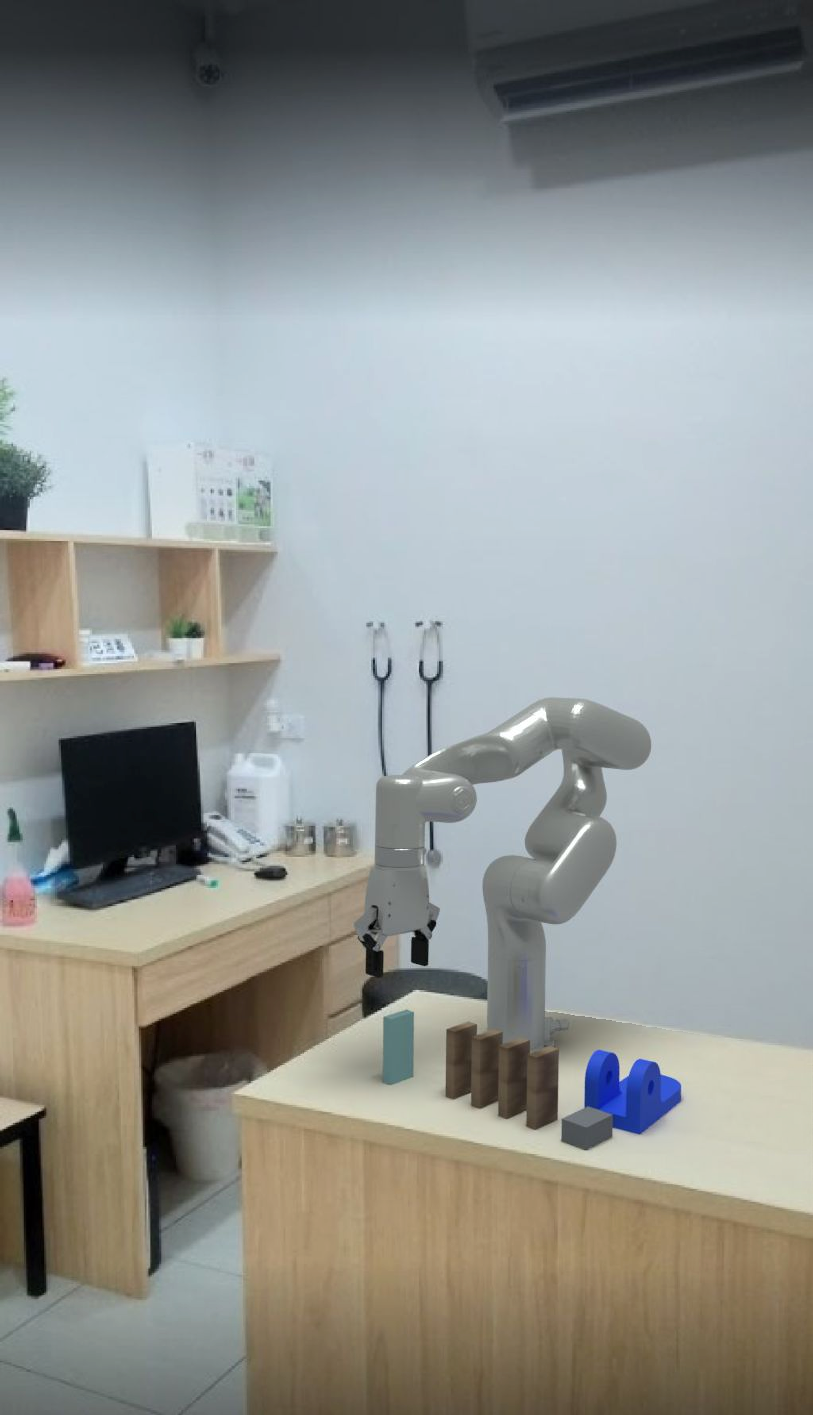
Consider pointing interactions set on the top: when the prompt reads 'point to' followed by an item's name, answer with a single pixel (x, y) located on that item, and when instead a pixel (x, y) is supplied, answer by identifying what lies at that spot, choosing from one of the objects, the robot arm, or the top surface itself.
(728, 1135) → the top surface
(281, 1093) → the top surface
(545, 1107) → the tile
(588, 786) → the robot arm
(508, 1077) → the tile
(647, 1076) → the bracket
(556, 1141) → the top surface
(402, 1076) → the tile
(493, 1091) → the tile
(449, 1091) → the tile
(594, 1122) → the block
